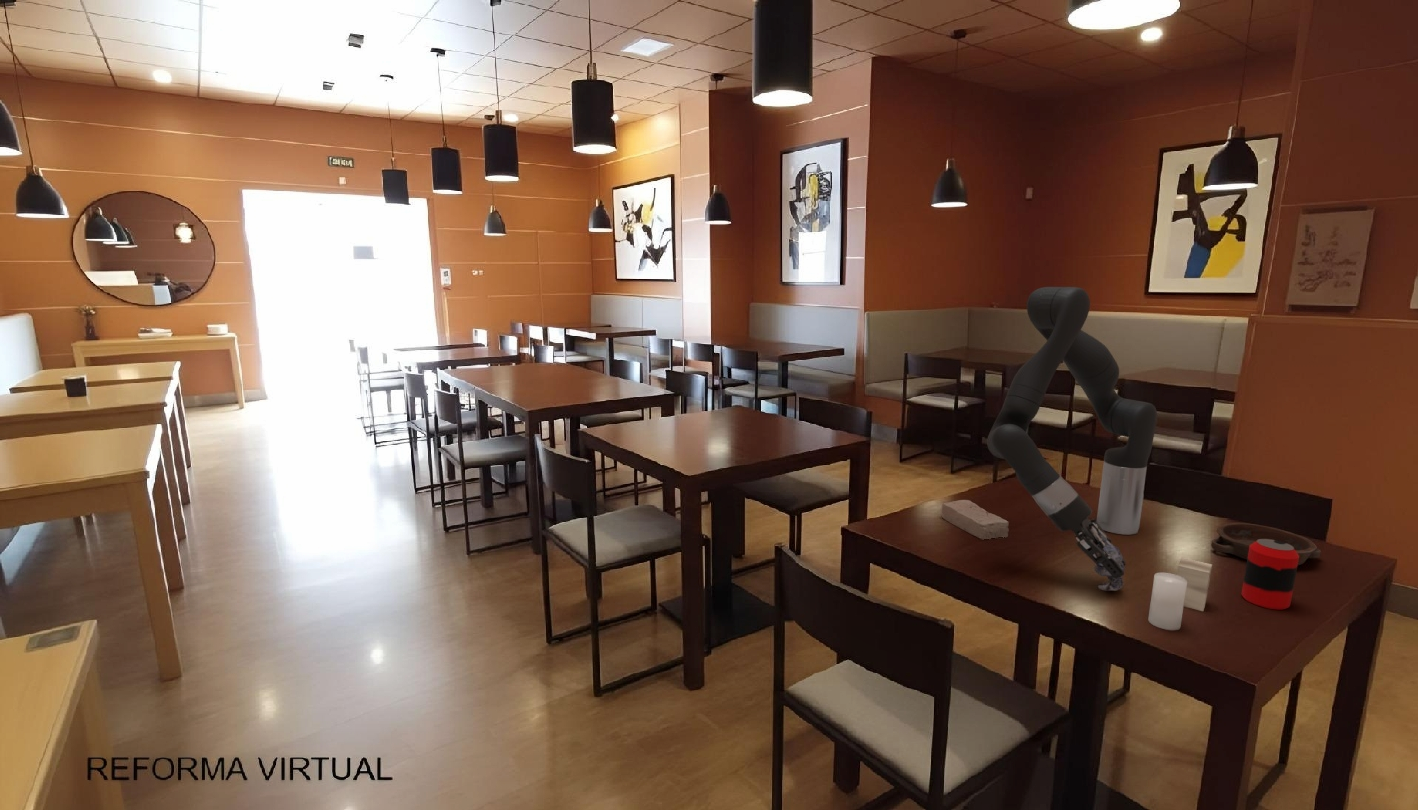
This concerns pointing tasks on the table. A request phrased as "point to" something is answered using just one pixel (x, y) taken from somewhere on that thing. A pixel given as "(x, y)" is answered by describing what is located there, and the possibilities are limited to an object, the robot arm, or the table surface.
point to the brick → (974, 519)
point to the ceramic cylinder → (1167, 601)
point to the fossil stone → (1100, 569)
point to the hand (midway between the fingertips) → (1120, 571)
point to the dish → (1243, 535)
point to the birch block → (1195, 582)
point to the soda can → (1270, 574)
